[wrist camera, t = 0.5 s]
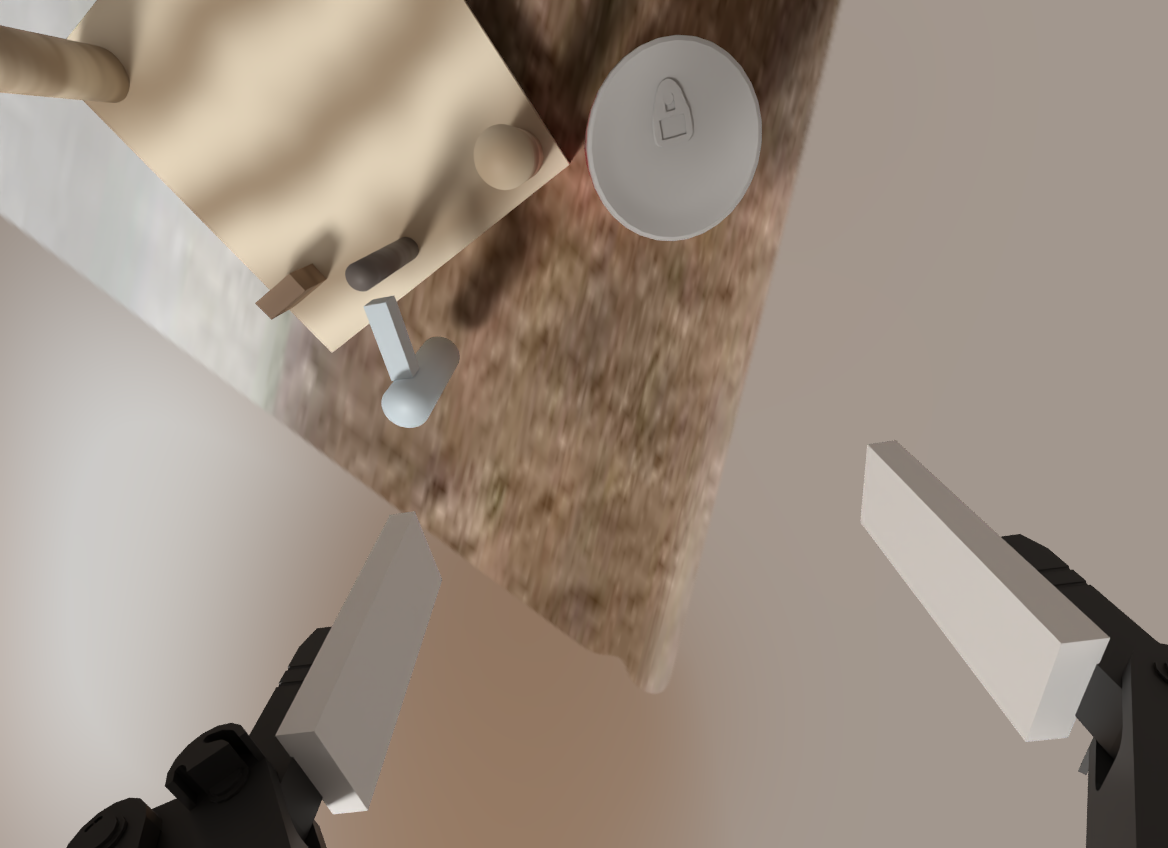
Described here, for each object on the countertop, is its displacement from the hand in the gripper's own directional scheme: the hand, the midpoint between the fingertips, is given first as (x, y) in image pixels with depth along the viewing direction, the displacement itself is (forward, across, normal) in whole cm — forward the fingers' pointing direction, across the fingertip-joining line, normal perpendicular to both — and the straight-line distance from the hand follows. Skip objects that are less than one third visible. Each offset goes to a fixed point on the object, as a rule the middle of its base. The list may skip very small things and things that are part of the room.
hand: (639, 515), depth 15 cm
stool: (+24, -14, +14) cm, 31 cm away
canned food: (+24, +4, +9) cm, 26 cm away
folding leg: (+21, -12, +1) cm, 24 cm away
